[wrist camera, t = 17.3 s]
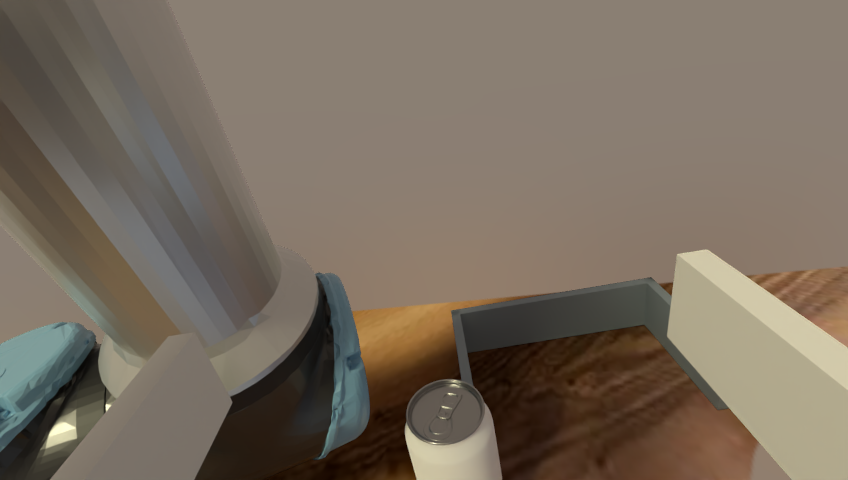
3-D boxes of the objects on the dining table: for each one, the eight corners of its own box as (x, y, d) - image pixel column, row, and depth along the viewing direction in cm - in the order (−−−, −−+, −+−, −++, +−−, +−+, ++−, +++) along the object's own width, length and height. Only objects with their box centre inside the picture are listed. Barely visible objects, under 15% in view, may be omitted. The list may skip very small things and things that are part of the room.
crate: (728, 408, 37) (738, 358, 35) (473, 446, 39) (464, 400, 36) (648, 318, 50) (651, 277, 48) (458, 348, 51) (451, 310, 49)
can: (417, 540, 32) (383, 437, 27) (444, 466, 37) (421, 368, 32) (496, 569, 29) (476, 461, 24) (514, 485, 35) (500, 382, 30)
